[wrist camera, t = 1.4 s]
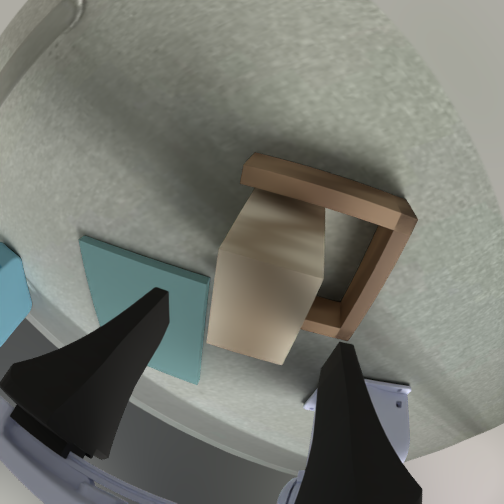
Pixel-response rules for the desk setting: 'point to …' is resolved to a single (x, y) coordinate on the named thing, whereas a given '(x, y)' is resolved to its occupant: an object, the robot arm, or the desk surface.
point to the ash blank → (267, 276)
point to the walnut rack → (351, 203)
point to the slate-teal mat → (140, 283)
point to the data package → (12, 292)
